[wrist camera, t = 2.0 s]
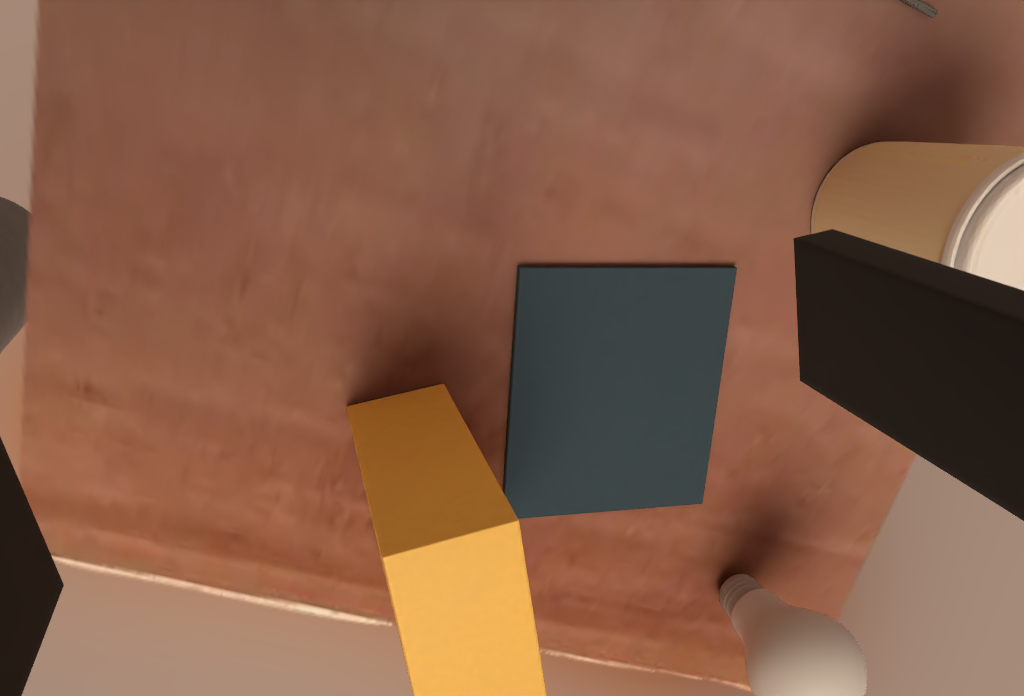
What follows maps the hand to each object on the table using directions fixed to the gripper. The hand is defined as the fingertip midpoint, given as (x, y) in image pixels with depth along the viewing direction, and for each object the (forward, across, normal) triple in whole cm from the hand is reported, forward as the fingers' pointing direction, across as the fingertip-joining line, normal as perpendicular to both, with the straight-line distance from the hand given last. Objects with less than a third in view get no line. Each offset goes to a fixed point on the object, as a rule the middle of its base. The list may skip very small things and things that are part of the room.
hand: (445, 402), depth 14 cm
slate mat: (+28, +12, -14) cm, 33 cm away
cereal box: (+27, 0, -16) cm, 31 cm away
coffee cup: (+28, +28, -8) cm, 40 cm away
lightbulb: (+28, +18, -29) cm, 44 cm away
